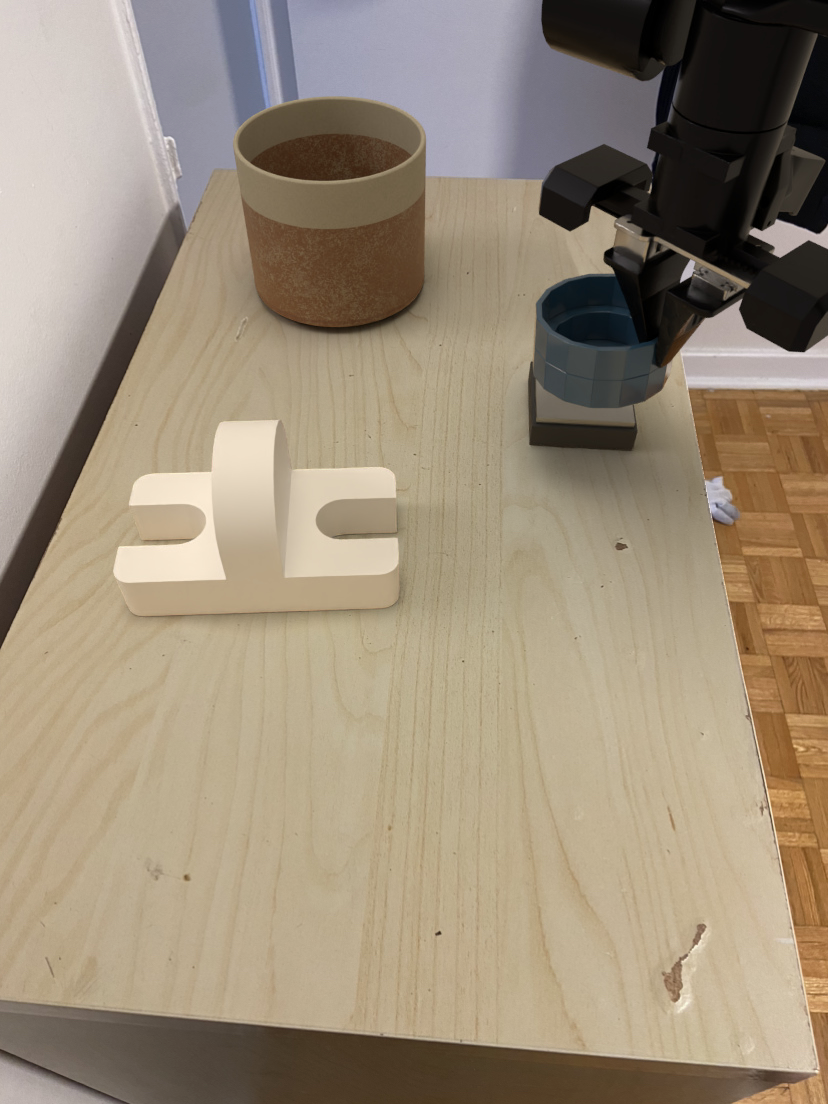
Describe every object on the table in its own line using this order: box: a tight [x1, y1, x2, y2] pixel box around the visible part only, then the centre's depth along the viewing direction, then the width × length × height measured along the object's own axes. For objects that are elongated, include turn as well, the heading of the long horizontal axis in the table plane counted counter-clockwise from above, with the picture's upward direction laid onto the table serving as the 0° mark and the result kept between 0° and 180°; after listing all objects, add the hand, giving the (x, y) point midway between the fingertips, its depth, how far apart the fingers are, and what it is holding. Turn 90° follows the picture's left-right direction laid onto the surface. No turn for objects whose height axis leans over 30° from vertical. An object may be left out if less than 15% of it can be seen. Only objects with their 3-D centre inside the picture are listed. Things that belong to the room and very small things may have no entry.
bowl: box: [532, 272, 674, 408], centre depth 57 cm, size 9×9×5 cm
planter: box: [232, 95, 427, 328], centre depth 74 cm, size 16×16×14 cm
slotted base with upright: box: [112, 419, 400, 617], centre depth 54 cm, size 10×18×11 cm, turn 92°
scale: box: [527, 360, 639, 451], centre depth 67 cm, size 8×8×3 cm
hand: (656, 361), depth 54 cm, fingers closed on bowl
